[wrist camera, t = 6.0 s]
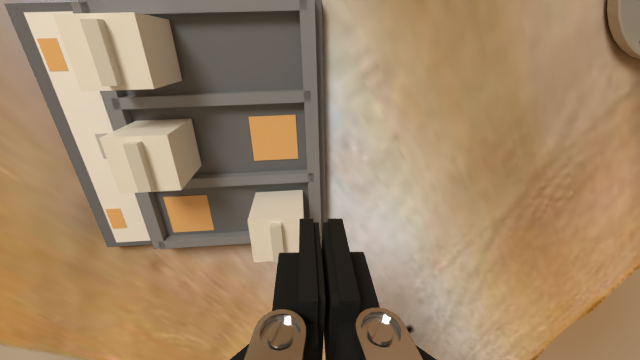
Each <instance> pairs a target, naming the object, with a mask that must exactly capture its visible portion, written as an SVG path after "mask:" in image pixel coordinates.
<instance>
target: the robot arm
mask: <svg viewBox="0 0 640 360" xmlns="http://www.w3.org/2000/svg"><path fill="white" fill-rule="evenodd" d="M607 15H608V22H609V28H610V30H611V33H612V36H613V38H614V40H615V41H616V43H617V44H618V46H619V47H620V48H621V50H623V51H624V52H626V53H627V54H628V55H630V56H631V57H634V58H636V59H639V60H640V0H608V2H607ZM323 336H324V341H325V354H326V360H436V359H435V358H433V357H432V356H430V355H429V354H427V353H426V352H425V351H423V350H422V349H420V348H419V347H417V346H416V345H415V344H414V342H413V340H412V338H411V336H410V334H409V332H408V330H407V328H406V327H405V325H404V323H403V322H402V320H401V319H400V318H399V317H398V316H397V315H396V314H394V313H393V312H391V311H389V310H387V309H383V308H380V307H379V303H378V300H377V296H376V293H375V290H374V286H373V283H372V279H371V276H370V272H369V269H368V265H367V262H366V259H365V255H364V253H363V252H350V251H349V246H348V242H347V238H346V233H345V229H344V224H343V220H342V219H328V222H323V227H322V248H321V242H320V231H319V222H313V219H300V224H299V253H279V256H278V265H277V274H276V282H275V291H274V300H273V308H272V311H271V312H269V313H267V314H266V315H264V316H263V317H262V318H261V319H260V320H259V321H258V323H257V325H256V327H255V329H254V332H253V335H252V338H251V341H250V344H248V345H247V346H246V347H245V348H244V349H242V350H241V351H240V352H239V353H237V354H236V355H235V356H234V357H233V358H231V359H230V360H322V353H323Z"/></svg>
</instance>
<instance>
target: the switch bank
mask: <svg viewBox="0 0 640 360" xmlns="http://www.w3.org/2000/svg"><path fill="white" fill-rule="evenodd" d="M78 1H79V2H65V3H16V4H5V6H6V9H7V11H8V14H9V16H10V18H11V21H12V23H13V25H14V28H15V30H16V32H17V35H18V37H19V39H20V42H21V44H22V47H23V49H24V51H25V54H26V56H27V58H28V61H29V63H30V65H31V68H32V70H33V72H34V75H35V77H36V80H37V82H38V84H39V87H40V89H41V91H42V94H43V96H44V98H45V101H46V103H47V105H48V108H49V110H50V113H51V115H52V117H53V120H54V122H55V124H56V127H57V129H58V131H59V134H60V136H61V138H62V141H63V143H64V146H65V148H66V150H67V153H68V155H69V157H70V160H71V162H72V164H73V167H74V169H75V171H76V174H77V176H78V178H79V181H80V183H81V186H82V188H83V190H84V193H85V195H86V197H87V200H88V202H89V204H90V207H91V209H92V211H93V214H94V216H95V219H96V221H97V223H98V226H99V228H100V230H101V233H102V235H103V237H104V240H105V242H106V244H107V247H117V246H133V245H149V244H153V247H154V249H155V248H160V249H170V248H185V247H201V246H217V245H232V244H248V243H251V240H250V234H249V228H248V217H249V214H250V210H251V207H252V203H253V200H254V196H255V193H256V192H272V191H290V190H303V206H304V219H313V222H319V231H320V238H322V227H323V222H326V193H325V145H324V96H323V48H322V0H78ZM120 12H135V13H140V14H145V15H150V16H155V17H159V18H164V19H169V22H170V27H171V31H172V36H173V40H174V45H175V50H176V54H177V59H178V63H179V68H180V72H181V77H182V81H179V82H176V83H173V84H169V85H166V86H163V87H159V88H156V89H140V90H113V91H85V92H81V90H80V87H79V84H78V81H77V79H76V76H75V73H74V71H73V68H72V65H71V62H70V60H69V57H68V54H67V52H66V49H65V46H64V43H63V41H62V38H61V35H60V32H59V30H58V27H57V24H56V22H55V19H54V16H53V14H76V13H120ZM168 119H192V124H193V129H194V133H195V138H196V142H197V147H198V151H199V156H200V161H201V165H202V166H201V167H200V168H199V169H198V170H197V172H196V173H195V174H194V175H193V177H192V178H191V179H190V180H189V182H188V183H187V184H186V185H185V186H184V188H183V189H182V190H177V191H158V192H140V193H121V194H119V191H118V188H117V185H116V183H115V180H114V177H113V174H112V172H111V169H110V166H109V163H108V161H107V158H106V155H105V153H104V150H103V147H102V144H101V142H100V139H99V138H100V137H102V136H104V135H107V134H109V133H111V132H113V131H115V130H117V129H120V128H122V127H124V126H126V125H128V124H130V123H133V122H135V121H144V120H168Z"/></svg>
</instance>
